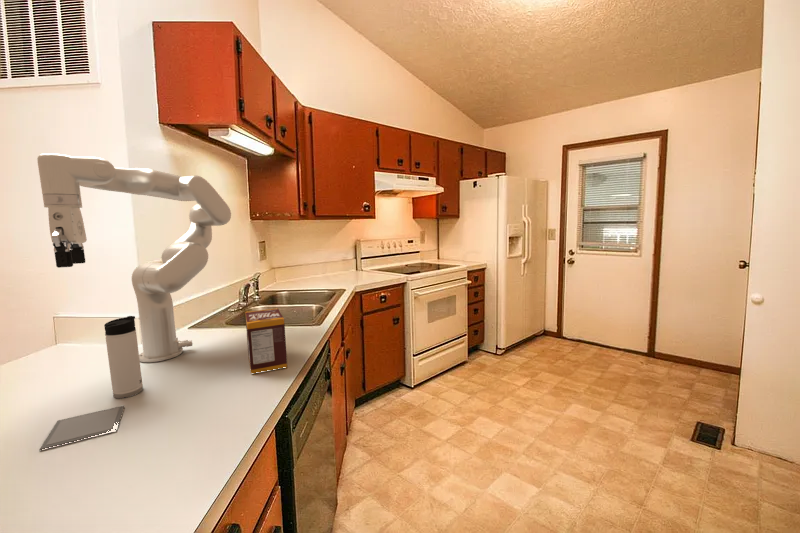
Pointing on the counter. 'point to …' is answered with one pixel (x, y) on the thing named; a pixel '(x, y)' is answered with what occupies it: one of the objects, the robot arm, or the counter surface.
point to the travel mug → (123, 357)
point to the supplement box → (266, 340)
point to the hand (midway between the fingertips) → (71, 265)
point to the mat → (82, 426)
